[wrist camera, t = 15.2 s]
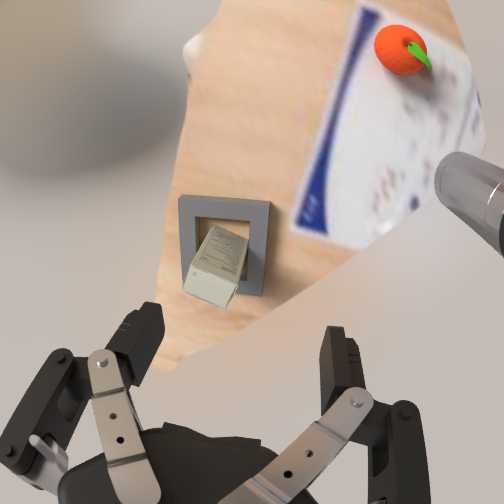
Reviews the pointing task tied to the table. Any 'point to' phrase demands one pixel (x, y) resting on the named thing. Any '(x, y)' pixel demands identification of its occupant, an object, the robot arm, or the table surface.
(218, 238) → the skincare box
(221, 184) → the table surface
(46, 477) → the robot arm
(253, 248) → the holder
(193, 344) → the table surface
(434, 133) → the table surface
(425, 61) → the clementine
